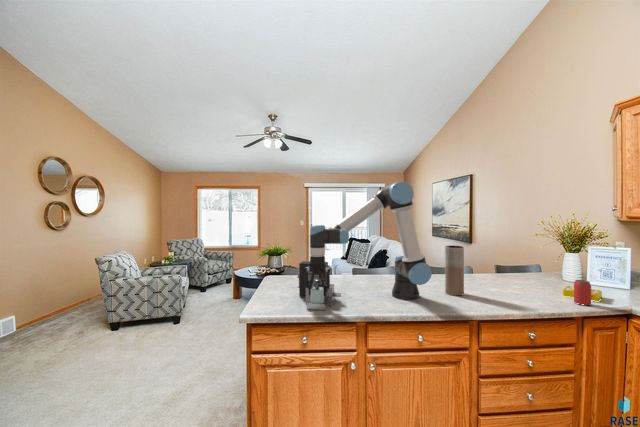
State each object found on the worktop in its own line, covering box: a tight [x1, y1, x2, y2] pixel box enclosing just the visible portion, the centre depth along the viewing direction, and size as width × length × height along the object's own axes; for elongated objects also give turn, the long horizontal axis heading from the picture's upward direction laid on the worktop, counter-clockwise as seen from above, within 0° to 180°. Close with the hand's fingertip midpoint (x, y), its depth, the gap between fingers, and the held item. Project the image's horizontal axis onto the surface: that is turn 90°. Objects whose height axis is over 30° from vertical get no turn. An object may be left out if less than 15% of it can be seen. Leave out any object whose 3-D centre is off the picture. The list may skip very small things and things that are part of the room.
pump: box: [311, 286, 323, 304], centre depth 145 cm, size 5×6×8 cm
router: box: [296, 260, 331, 298], centre depth 167 cm, size 8×18×20 cm, turn 78°
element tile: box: [562, 285, 603, 301], centre depth 162 cm, size 15×15×5 cm
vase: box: [444, 245, 465, 296], centre depth 170 cm, size 10×10×28 cm
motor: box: [305, 279, 342, 312], centre depth 148 cm, size 18×16×12 cm
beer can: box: [573, 279, 592, 306], centre depth 149 cm, size 7×7×12 cm
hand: (317, 301), depth 145 cm, fingers closed on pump, 5 cm apart
